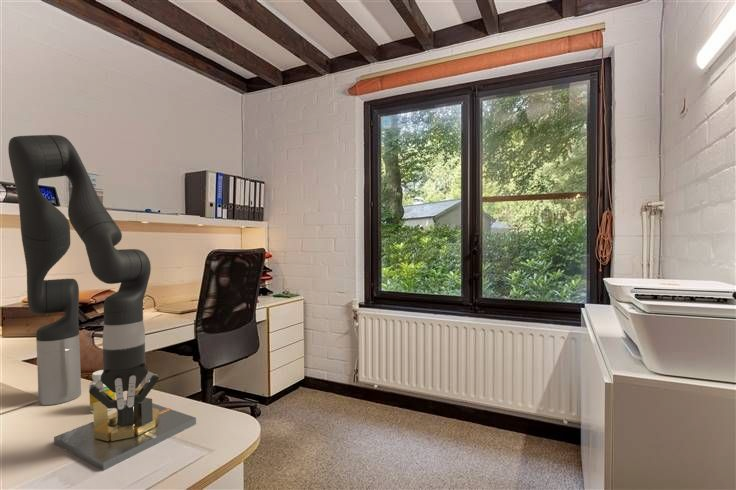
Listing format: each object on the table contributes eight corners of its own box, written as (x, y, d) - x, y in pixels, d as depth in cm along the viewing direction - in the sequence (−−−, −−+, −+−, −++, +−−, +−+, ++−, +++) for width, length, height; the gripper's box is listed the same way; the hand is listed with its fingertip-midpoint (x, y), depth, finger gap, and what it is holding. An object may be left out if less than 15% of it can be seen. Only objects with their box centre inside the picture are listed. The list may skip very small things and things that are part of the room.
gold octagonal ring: (82, 434, 82) (81, 404, 82) (134, 410, 93) (133, 383, 93) (120, 445, 78) (119, 413, 77) (170, 418, 89) (170, 390, 89)
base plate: (54, 443, 82) (52, 411, 81) (146, 406, 99) (145, 380, 99) (103, 470, 72) (102, 434, 72) (196, 423, 89) (195, 394, 89)
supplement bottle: (102, 414, 95) (101, 376, 95) (84, 412, 96) (83, 375, 96) (120, 405, 100) (119, 368, 100) (103, 403, 101) (102, 367, 101)
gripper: (84, 352, 73) (86, 441, 74) (161, 341, 81) (163, 422, 81) (86, 344, 80) (88, 426, 80) (157, 334, 87) (159, 409, 87)
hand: (126, 423), depth 80 cm, fingers closed
